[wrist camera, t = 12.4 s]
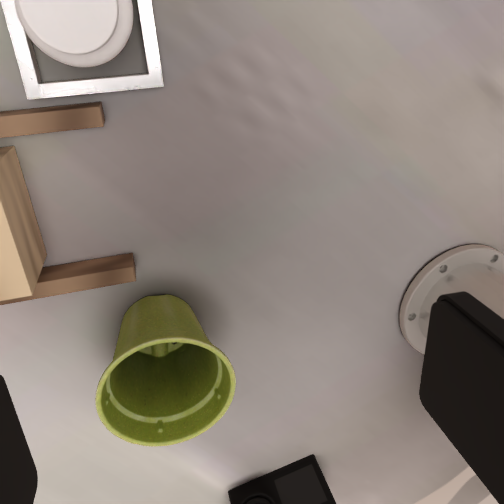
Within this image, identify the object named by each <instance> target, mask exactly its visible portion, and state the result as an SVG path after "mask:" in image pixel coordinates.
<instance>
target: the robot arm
mask: <svg viewBox="0 0 504 504" xmlns="http://www.w3.org/2000/svg"><path fill="white" fill-rule="evenodd" d="M399 318H400V327H401V331H402V334H403V336H404V337H405V339H406V340H407V342H408V343H409V344H410V345H411V346H412V347H413V348H414V349H415V350H417V351H418V352H420V353H421V354H424V361H423V368H422V376H421V383H420V390H419V395H420V399H421V402H422V405H423V406H424V408H425V409H426V410H427V412H428V413H429V414H430V416H431V417H432V418H433V419H434V421H435V422H436V423H437V425H438V426H439V427H440V428H441V430H442V431H443V432H444V434H445V435H446V436H447V437H448V439H449V440H450V441H451V443H452V444H453V445H454V446H455V448H456V449H457V450H458V452H459V453H460V454H461V455H462V457H463V458H464V459H465V460H466V462H467V463H468V464H469V466H470V467H471V468H472V469H473V471H474V472H475V473H476V475H477V476H478V477H479V478H480V480H481V481H482V482H483V484H484V485H485V486H486V487H487V489H488V490H489V491H490V493H491V494H492V495H493V496H494V498H495V499H496V500H497V502H498V503H499V504H504V254H502V253H501V252H499V251H497V250H495V249H494V248H492V247H489V246H485V245H477V244H470V245H465V246H460V247H457V248H454V249H452V250H449V251H447V252H445V253H443V254H442V255H440V256H438V257H437V258H435V259H434V260H433V261H431V262H430V263H429V264H428V265H426V266H425V267H424V268H423V269H422V270H421V271H420V273H419V274H418V275H417V276H416V277H415V279H414V280H413V281H412V283H411V284H410V286H409V288H408V290H407V292H406V293H405V295H404V298H403V301H402V304H401V309H400V315H399ZM37 481H38V480H37V470H36V467H35V464H34V461H33V458H32V456H31V453H30V450H29V447H28V444H27V442H26V439H25V436H24V433H23V430H22V428H21V425H20V422H19V419H18V416H17V414H16V411H15V408H14V405H13V402H12V399H11V397H10V394H9V391H8V388H7V385H6V383H5V380H4V378H3V377H2V376H1V375H0V504H33V502H34V498H35V494H36V489H37Z"/></svg>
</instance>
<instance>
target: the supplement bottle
mask: <svg viewBox="0 0 504 504" xmlns="http://www.w3.org/2000/svg"><path fill="white" fill-rule="evenodd" d="M14 3H15V8H16V12H17V15H18V18H19V21H20V23H21V25H22V27H23V28H24V30H25V32H26V34H27V35H28V37H29V38H30V39H31V40H32V42H33V43H34V44H35V45H36V46H37V47H38V48H39V49H40V50H41V51H43V52H44V53H45V54H46V55H48V56H49V57H51V58H53V59H55V60H57V61H59V62H61V63H64V64H66V65H70V66H75V67H94V66H98V65H101V64H104V63H106V62H108V61H110V60H112V59H113V58H114V57H116V56H117V55H118V54H119V53H120V52H121V51H122V49H123V48H124V46H125V45H126V43H127V41H128V39H129V37H130V34H131V31H132V26H133V5H132V0H14Z"/></svg>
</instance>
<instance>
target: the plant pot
mask: <svg viewBox="0 0 504 504" xmlns="http://www.w3.org/2000/svg"><path fill="white" fill-rule="evenodd" d="M173 342H178V343H176V344H173ZM235 386H236V379H235V373H234V369H233V367H232V365H231V363H230V361H229V359H228V358H227V357H226V355H225V354H224V353H223V352H222V351H221V350H219V349H218V348H217V347H215V346H214V345H213V344H212V343H211V342H209V340H208V338H207V337H206V335H205V333H204V331H203V329H202V327H201V326H200V324H199V322H198V320H197V318H196V316H195V314H194V312H193V311H192V309H191V307H190V306H189V305H188V304H187V303H186V302H185V301H183V300H182V299H180V298H178V297H175V296H172V295H167V294H166V295H160V296H147V297H144V298H142V299H140V300H138V301H137V302H135V303H134V304H133V305H132V306H131V307H130V308H129V309H128V310H127V312H126V313H125V315H124V317H123V320H122V324H121V328H120V332H119V337H118V341H117V345H116V349H115V353H114V357H113V361H112V362H111V364H110V365H109V366H108V367H107V368H106V370H105V371H104V373H103V375H102V377H101V379H100V381H99V384H98V387H97V392H96V398H95V400H96V409H97V413H98V416H99V418H100V419H101V421H102V423H103V424H104V425H105V427H106V428H107V429H108V430H109V431H110V432H111V433H112V434H114V435H115V436H117V437H119V438H121V439H123V440H125V441H127V442H130V443H133V444H138V445H143V446H167V445H173V444H177V443H181V442H184V441H187V440H189V439H192V438H194V437H196V436H198V435H200V434H202V433H203V432H205V431H207V430H208V429H209V428H210V427H212V426H213V425H214V424H215V423H216V422H217V421H218V420H219V419H220V418H221V417H222V416H223V415H224V414H225V412H226V411H227V409H228V408H229V406H230V404H231V402H232V399H233V396H234V392H235Z"/></svg>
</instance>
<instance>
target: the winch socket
mask: <svg viewBox="0 0 504 504" xmlns="http://www.w3.org/2000/svg"><path fill="white" fill-rule="evenodd" d="M0 1H1V4H2V8H3V11H4V15H5V19H6V22H7V26H8V30H9V33H10V37H11V40H12V44H13V48H14V51H15V55H16V59H17V62H18V66H19V69H20V73H21V77H22V80H23V84H24V87H25V91H26V95H27V98H28V100H29V99H40V98H50V97H61V96H71V95H82V94H92V93H103V92H113V91H124V90H134V89H145V88H155V87H164V85H163V78H162V71H161V64H160V57H159V50H158V43H157V37H156V30H155V23H154V16H153V9H152V2H151V0H137V6H138V13H139V19H140V25H141V32H142V38H143V44H144V51H145V57H146V64H147V70H148V73H141V74H129V75H118V76H107V77H96V78H84V79H73V80H62V81H50V82H42V80H41V76H40V72H39V68H38V64H37V60H36V56H35V53H34V49H33V45H32V41H31V39H30V38H29V37H28V35H27V34H26V32H25V30H24V28H23V27H22V25H21V23H20V21H19V18H18V15H17V12H16V8H15V3H14V0H0Z"/></svg>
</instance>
